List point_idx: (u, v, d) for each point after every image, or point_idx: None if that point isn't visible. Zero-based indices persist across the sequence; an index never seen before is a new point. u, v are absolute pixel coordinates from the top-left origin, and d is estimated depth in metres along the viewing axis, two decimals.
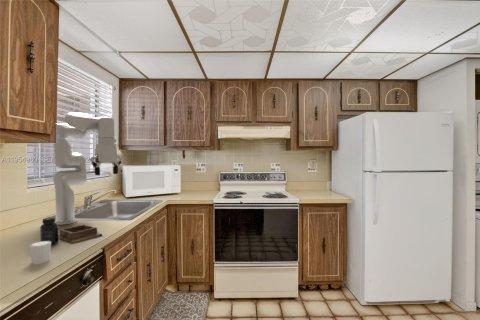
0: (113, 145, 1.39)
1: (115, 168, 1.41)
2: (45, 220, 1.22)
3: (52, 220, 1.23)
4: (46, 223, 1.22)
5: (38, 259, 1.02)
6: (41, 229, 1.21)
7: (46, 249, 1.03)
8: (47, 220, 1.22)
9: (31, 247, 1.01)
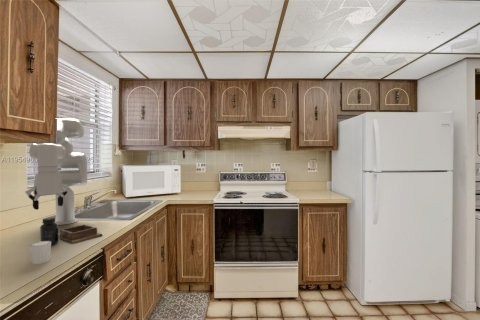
0: (56, 174, 1.24)
1: (59, 199, 1.27)
2: (45, 220, 1.22)
3: (52, 220, 1.23)
4: (46, 223, 1.22)
5: (38, 259, 1.02)
6: (41, 229, 1.21)
7: (46, 249, 1.03)
8: (47, 220, 1.22)
9: (31, 247, 1.01)
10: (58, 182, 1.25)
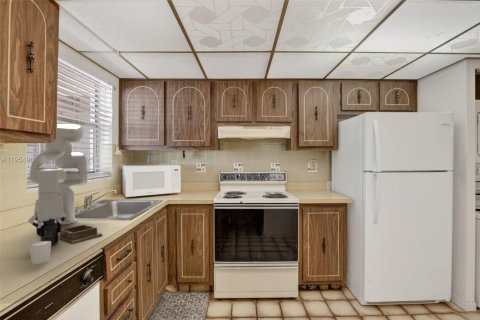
0: (56, 199, 1.25)
1: None
2: None
3: (52, 220, 1.23)
4: (46, 223, 1.22)
5: (38, 259, 1.02)
6: None
7: (46, 249, 1.03)
8: None
9: (31, 247, 1.01)
10: (59, 207, 1.25)
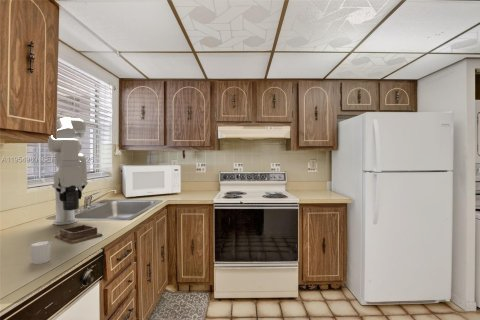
0: (77, 168, 1.32)
1: None
2: None
3: (73, 187, 1.31)
4: (68, 189, 1.30)
5: (38, 259, 1.02)
6: None
7: (46, 249, 1.03)
8: None
9: (31, 247, 1.01)
10: (79, 175, 1.33)
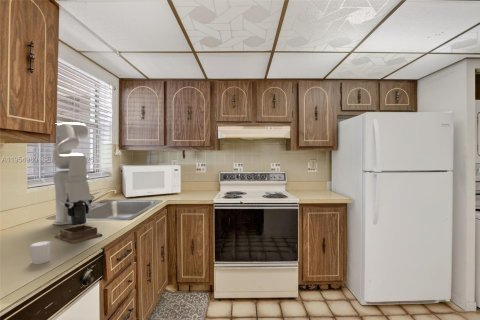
0: (85, 183, 1.35)
1: None
2: None
3: (81, 201, 1.34)
4: (76, 204, 1.33)
5: (38, 259, 1.02)
6: None
7: (46, 249, 1.03)
8: None
9: (31, 247, 1.01)
10: (87, 190, 1.36)
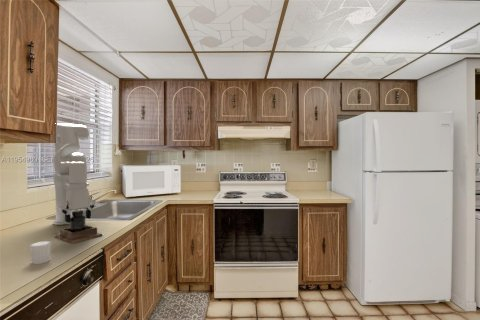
0: (85, 190, 1.36)
1: (88, 212, 1.38)
2: (74, 212, 1.33)
3: (81, 213, 1.34)
4: (75, 215, 1.33)
5: (38, 259, 1.02)
6: (71, 221, 1.32)
7: (46, 249, 1.03)
8: (76, 212, 1.33)
9: (31, 247, 1.01)
10: (87, 197, 1.36)
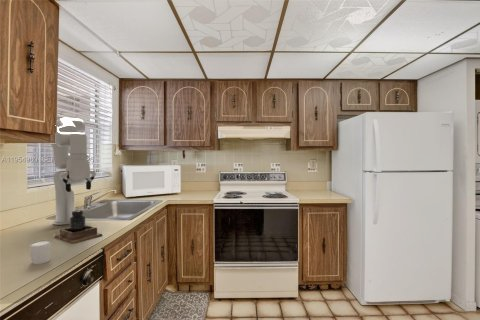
0: (85, 161, 1.38)
1: (88, 184, 1.41)
2: (74, 213, 1.33)
3: (80, 213, 1.34)
4: (75, 215, 1.33)
5: (38, 259, 1.02)
6: (71, 221, 1.32)
7: (46, 249, 1.03)
8: (76, 213, 1.33)
9: (31, 247, 1.01)
10: (87, 168, 1.39)
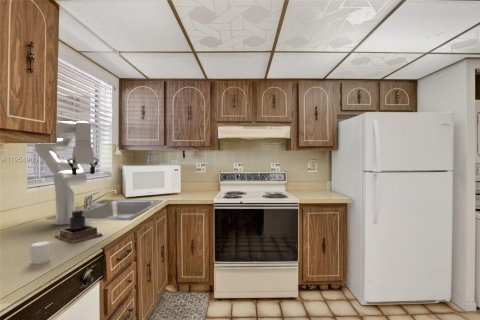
0: (89, 147, 1.51)
1: (92, 168, 1.54)
2: (74, 212, 1.33)
3: (80, 213, 1.34)
4: (75, 215, 1.33)
5: (38, 259, 1.02)
6: (71, 221, 1.32)
7: (46, 249, 1.03)
8: (76, 212, 1.33)
9: (31, 247, 1.01)
10: (91, 154, 1.52)
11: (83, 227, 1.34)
